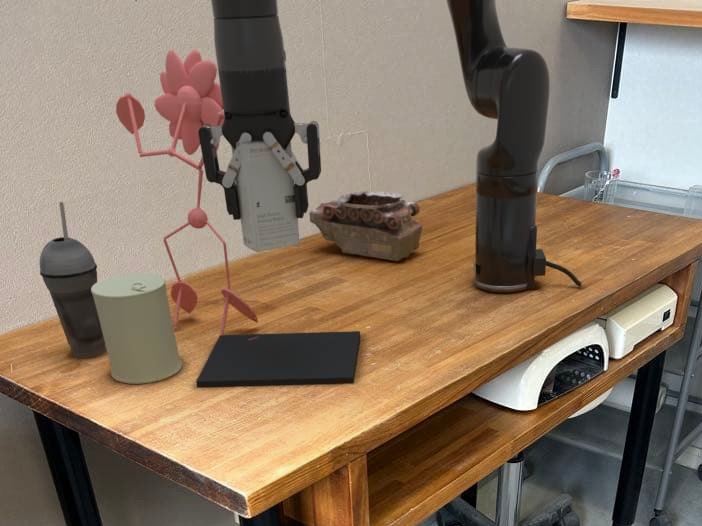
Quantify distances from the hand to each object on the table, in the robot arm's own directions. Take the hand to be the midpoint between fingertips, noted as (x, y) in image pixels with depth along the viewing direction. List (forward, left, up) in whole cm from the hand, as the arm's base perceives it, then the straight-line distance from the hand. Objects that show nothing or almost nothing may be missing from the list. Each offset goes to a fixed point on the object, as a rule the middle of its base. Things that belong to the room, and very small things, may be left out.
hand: (269, 217), depth 105 cm
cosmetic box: (0, 0, -4) cm, 4 cm away
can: (+18, +2, -19) cm, 26 cm away
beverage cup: (+28, -5, -19) cm, 34 cm away
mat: (0, 0, -19) cm, 19 cm away
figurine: (+11, -16, -18) cm, 27 cm away
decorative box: (-8, -48, -19) cm, 52 cm away
